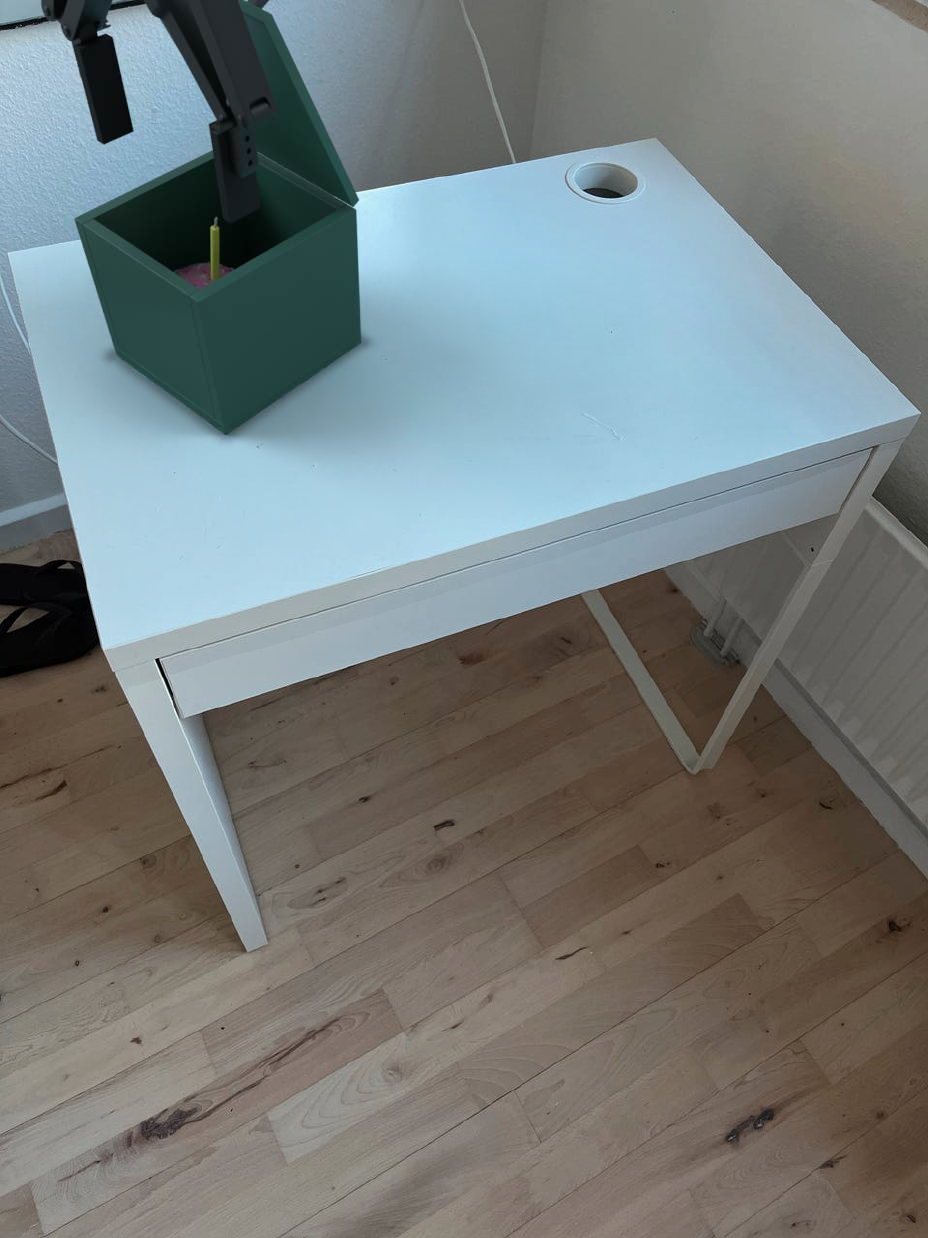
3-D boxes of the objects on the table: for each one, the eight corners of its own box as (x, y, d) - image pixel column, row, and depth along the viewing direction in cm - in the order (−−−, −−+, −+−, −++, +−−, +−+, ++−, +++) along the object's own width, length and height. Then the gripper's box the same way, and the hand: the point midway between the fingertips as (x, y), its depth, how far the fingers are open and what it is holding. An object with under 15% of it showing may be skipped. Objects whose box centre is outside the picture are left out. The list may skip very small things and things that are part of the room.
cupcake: (253, 308, 84) (233, 182, 74) (275, 370, 80) (257, 245, 70) (156, 325, 82) (122, 197, 72) (173, 389, 78) (139, 263, 68)
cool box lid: (263, 23, 57) (350, -79, 58) (116, -53, 62) (198, -147, 62) (353, 207, 73) (420, 125, 74) (230, 136, 78) (295, 60, 78)
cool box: (225, 435, 77) (198, 301, 66) (116, 355, 81) (73, 217, 71) (361, 342, 84) (356, 209, 73) (254, 273, 89) (234, 138, 78)
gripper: (321, -159, 47) (339, 225, 65) (20, -282, 55) (108, 89, 73) (206, -124, 44) (258, 272, 61) (-97, -261, 52) (24, 124, 69)
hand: (176, 173), depth 67 cm, fingers open, 13 cm apart
